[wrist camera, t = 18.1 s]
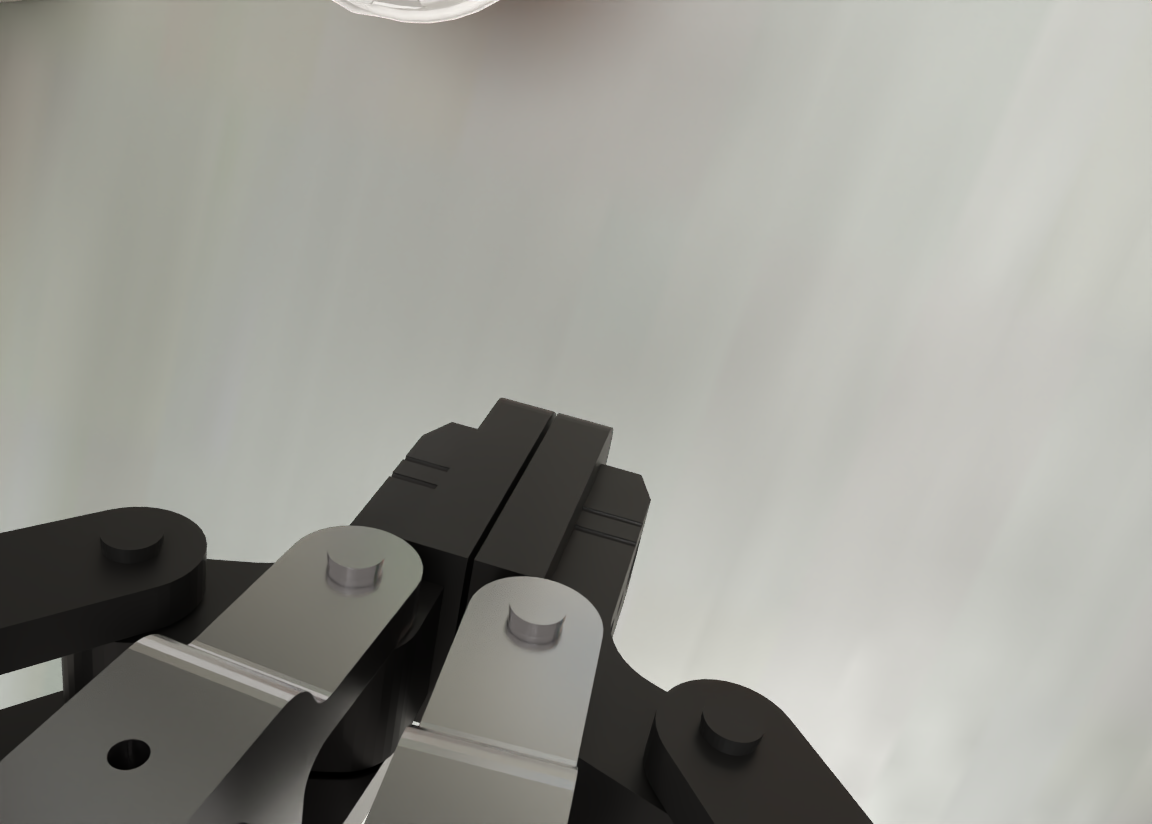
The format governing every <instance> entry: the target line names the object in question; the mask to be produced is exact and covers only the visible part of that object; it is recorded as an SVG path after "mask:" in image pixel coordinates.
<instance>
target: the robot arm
mask: <svg viewBox="0 0 1152 824" xmlns="http://www.w3.org/2000/svg"><path fill="white" fill-rule="evenodd" d="M9 1H20V0H0V2H9ZM612 434H613V428H611V427H608V426H604V425H600V424H597V423H593V422H590V421H586V420H582V419H579V418H575V417H572V416H568V415H564V414H561V413H559V414H558V415H557V416H556V413H555V412H553V411H549V410H545V409H542V408H538V407H535V406H531V405H527V404H524V403H520V402H517V401H513V400H509V399H506V398H500V399H499V400H498V401H497V403H496V404H495V406H494V407H493V408H492V410H491V411H490V413H489V414H488V415H487V417H486V418H485V420H484V421H483V422H482V424H481V425H480V427H479V428H478V429H475V428H471V427H468V426H464V425H461V424H457V423H453V422H451V423H449V424H447V425H445V426H442V427H440V428H438V429H436V430H434V431H431V432H429V433H427V434H425V435H423V436H422V437H421V438H420V439H419V440H418V442H417V443H416V444H415V445H414V447H413V448H412V449H411V450H410V452H409V453H408V454H407V455H406V459H405V460H402V461H401V463H400V464H399V465H398V466H397V468H396V469H395V470H394V471H393V474H392V477H390V476H389V477H388V479H387V480H386V481H385V482H384V484H383V485H382V486H381V487H380V489H379V490H378V491H377V492H376V494H375V495H374V496H373V497H372V498H371V500H370V501H369V502H368V503H367V505H366V506H365V507H364V508H363V510H362V511H361V512H360V513H359V514H358V516H357V517H356V518H355V519H354V521H353V522H352V523H351V524H350V526H337V527H330V528H326V529H321V530H318V531H316V532H313V533H310V534H309V535H307V536H305V537H303V538H302V539H300V540H299V541H298V542H296V543H295V544H294V545H293V546H292V547H291V548H290V549H289V550H288V551H287V552H286V553H285V554H284V555H283V556H282V557H281V558H279V559H278V560H277V561H276V562H275V563H252V562H239V561H225V560H212V559H206V556H207V542H206V537H205V535H204V533H203V531H202V530H201V529H200V528H199V526H198V525H197V524H195V523H194V522H193V521H191V520H190V519H188V518H186V517H184V516H182V515H180V514H178V513H175V512H172V511H168V510H163V509H159V508H150V507H126V508H118V509H111V510H106V511H102V512H97V513H92V514H88V515H83V516H78V517H74V518H69V519H64V520H60V521H55V522H50V523H46V524H41V525H36V526H32V527H27V528H22V529H18V530H13V531H8V532H3V533H0V675H2V674H5V673H9V672H12V671H15V670H19V669H22V668H26V667H29V666H33V665H36V664H40V663H43V662H46V661H50V660H53V659H57V658H60V657H61V658H62V676H63V691H60V692H56V693H53V694H50V695H47V696H43V697H40V698H37V699H34V700H30V701H27V702H24V703H21V704H18V705H14V706H11V707H8V708H5V709H1V710H0V824H361V823H362V822H363V820H364V819H365V817H366V816H367V814H368V812H369V814H368V816H367V818H366V821H365V823H364V824H873V823H872V821H871V820H870V819H869V818H868V816H867V815H866V814H865V813H864V811H863V810H862V809H861V807H860V806H859V805H858V804H857V802H856V801H855V800H854V799H853V797H852V796H851V795H850V794H849V792H848V791H847V790H846V789H845V787H844V786H843V785H842V784H841V782H840V781H839V780H838V779H837V777H836V776H835V775H834V774H833V772H832V771H831V770H830V769H829V767H828V766H827V765H826V764H825V762H824V761H823V760H822V759H821V757H820V756H819V755H818V754H817V752H816V751H815V750H814V749H813V747H812V746H811V745H810V744H809V742H808V741H807V740H806V739H805V737H804V736H803V735H802V734H801V732H800V731H799V730H798V729H797V727H796V726H795V725H794V724H793V722H792V721H791V720H790V719H789V717H788V716H787V715H786V714H785V713H784V712H783V711H782V710H781V709H780V708H779V707H777V706H776V705H775V704H774V703H773V702H771V701H770V700H768V699H767V698H765V697H764V696H762V695H761V694H759V693H757V692H755V691H753V690H751V689H749V688H746V687H744V686H741V685H738V684H735V683H731V682H727V681H721V680H712V679H701V680H692V681H688V682H685V683H682V684H679V685H677V686H675V687H673V688H672V689H671V690H669V691H668V692H666V691H664V690H663V689H661V688H659V687H657V686H656V685H654V684H652V683H651V682H649V681H648V680H646V679H645V678H643V677H642V676H640V675H639V674H638V673H637V672H636V671H634V670H633V669H632V668H631V667H630V666H629V665H628V664H627V663H626V662H625V660H624V659H623V658H622V656H621V655H620V654H619V652H618V651H617V648H616V646H615V644H614V642H613V638H612V637H613V634H614V631H615V628H616V625H617V621H618V618H619V615H620V612H621V609H622V606H623V603H624V600H625V596H626V593H627V589H628V585H629V581H630V577H631V574H632V570H633V566H634V562H635V558H636V554H637V551H638V547H639V543H640V539H641V535H642V531H643V527H644V524H645V520H646V516H647V512H648V508H649V504H650V501H651V499H650V497H649V494H648V491H647V489H646V486H645V484H644V481H643V478H642V476H641V475H639V474H636V473H632V472H629V471H625V470H622V469H618V468H614V467H611V466H607V465H606V462H607V458H608V454H609V449H610V445H611V440H612ZM413 721H416V722H419V723H420V725H419V726H416V725H412V723H413Z"/></svg>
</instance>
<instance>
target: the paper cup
mask: <svg viewBox="0 0 1152 824" xmlns="http://www.w3.org/2000/svg"><path fill="white" fill-rule="evenodd" d="M332 1H334V2H336V3H337V4H339V5H341V6H342V7H344V8H346V9H347V10H349V11H351V12H353V13H357V14H363V15H369V16H375V17H381V18H386V19H390V20H395V21H400V22H405V23H436V22H443V21H449V20H455V19H458V18H461V17H464V16H467V15H470V14H473V13H476V12H479V11H481V10H483V9H485V8H486V7H488V6H490V5H492V4H494V3H496V2H497V1H499V0H332Z"/></svg>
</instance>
